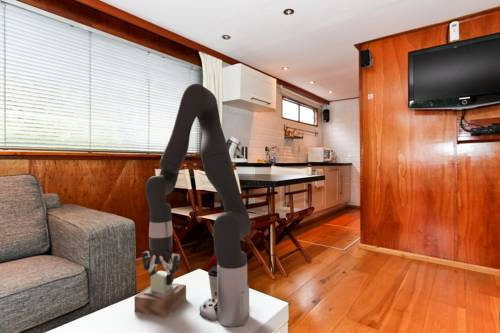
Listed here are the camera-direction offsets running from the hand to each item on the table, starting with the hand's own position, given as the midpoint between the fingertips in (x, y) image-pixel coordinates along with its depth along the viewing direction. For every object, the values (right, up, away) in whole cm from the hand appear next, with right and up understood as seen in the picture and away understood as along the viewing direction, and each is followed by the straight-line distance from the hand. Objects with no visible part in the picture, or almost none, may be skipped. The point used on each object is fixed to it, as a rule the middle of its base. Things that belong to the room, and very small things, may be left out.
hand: (161, 283), depth 93 cm
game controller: (+18, -8, -4) cm, 20 cm away
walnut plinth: (0, -8, 0) cm, 8 cm away
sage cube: (0, -2, 0) cm, 2 cm away
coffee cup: (+18, -8, +6) cm, 21 cm away
